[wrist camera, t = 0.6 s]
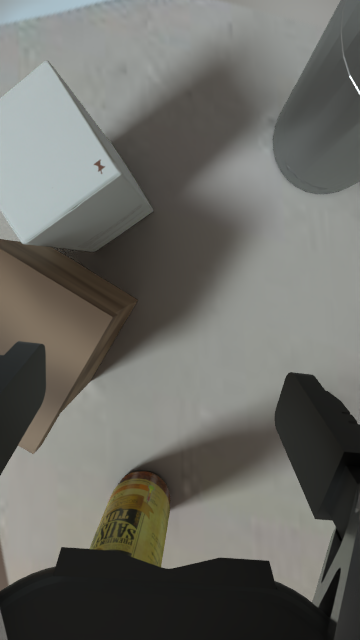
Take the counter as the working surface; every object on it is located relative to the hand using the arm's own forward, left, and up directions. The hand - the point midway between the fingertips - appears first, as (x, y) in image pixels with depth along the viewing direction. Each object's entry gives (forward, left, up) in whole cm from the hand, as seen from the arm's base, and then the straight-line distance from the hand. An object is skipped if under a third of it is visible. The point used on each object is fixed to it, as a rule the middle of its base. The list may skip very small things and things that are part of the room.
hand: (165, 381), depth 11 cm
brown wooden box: (+7, -9, -21) cm, 24 cm away
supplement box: (-4, -12, -22) cm, 25 cm away
